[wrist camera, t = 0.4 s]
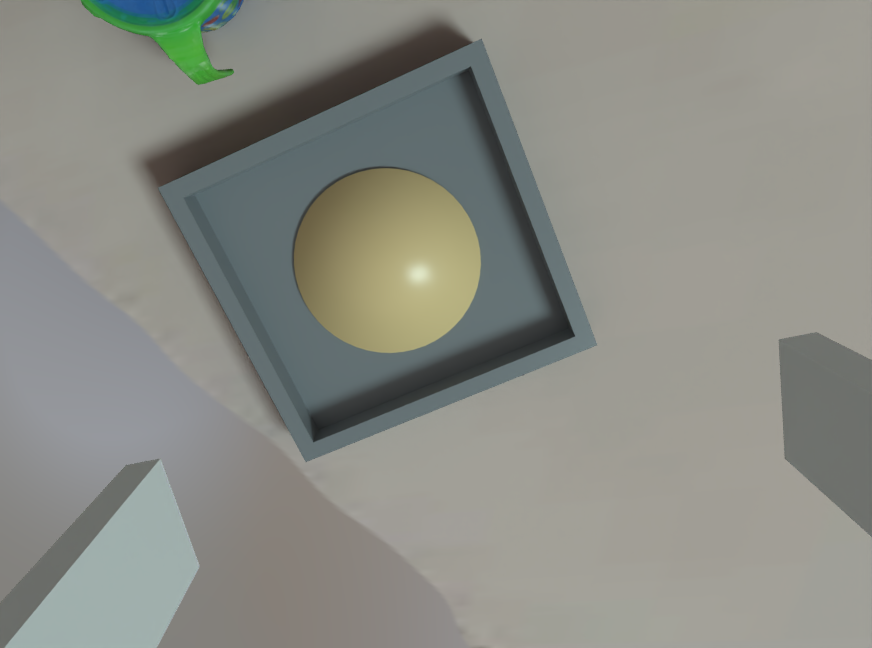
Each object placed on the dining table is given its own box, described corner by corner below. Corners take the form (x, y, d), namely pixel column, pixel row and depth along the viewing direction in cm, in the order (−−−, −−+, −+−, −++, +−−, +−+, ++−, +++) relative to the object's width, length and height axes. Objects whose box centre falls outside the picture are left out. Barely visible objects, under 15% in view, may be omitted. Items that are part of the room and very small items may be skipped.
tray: (176, 184, 37) (157, 188, 35) (477, 46, 35) (481, 38, 33) (313, 442, 42) (305, 461, 39) (586, 332, 40) (597, 344, 37)
